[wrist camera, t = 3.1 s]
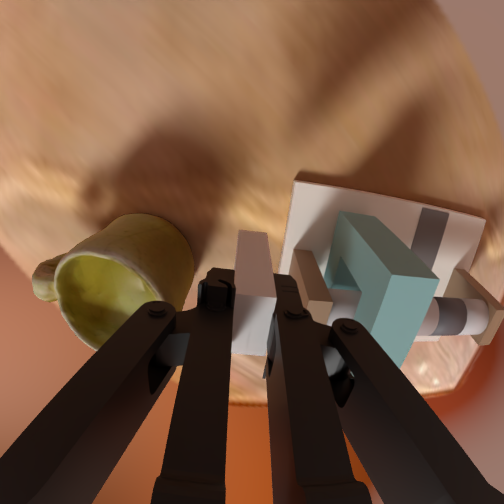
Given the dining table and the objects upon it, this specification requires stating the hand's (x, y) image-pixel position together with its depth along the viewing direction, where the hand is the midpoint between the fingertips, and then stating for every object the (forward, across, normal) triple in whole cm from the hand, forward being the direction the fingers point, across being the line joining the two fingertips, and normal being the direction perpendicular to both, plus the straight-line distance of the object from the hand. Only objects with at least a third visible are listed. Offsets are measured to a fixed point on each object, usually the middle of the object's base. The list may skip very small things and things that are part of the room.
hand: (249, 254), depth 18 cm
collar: (+7, +8, -4) cm, 11 cm away
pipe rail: (+8, +12, -4) cm, 15 cm away
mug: (+8, -10, -5) cm, 14 cm away
